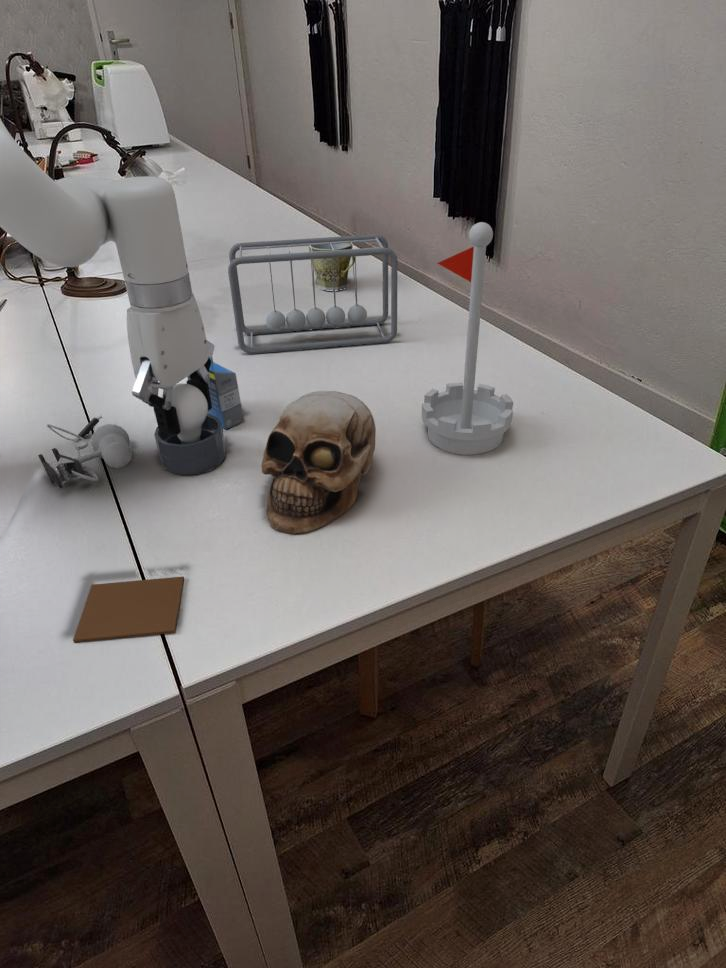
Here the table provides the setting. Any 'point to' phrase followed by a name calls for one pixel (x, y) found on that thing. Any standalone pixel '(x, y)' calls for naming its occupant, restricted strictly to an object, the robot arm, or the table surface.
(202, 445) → the basin
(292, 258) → the newton's cradle
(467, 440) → the flag stand
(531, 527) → the table surface
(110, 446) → the clip-on lamp
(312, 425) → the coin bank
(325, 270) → the ceramic cup
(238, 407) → the label tape box
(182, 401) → the lightbulb
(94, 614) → the mat
